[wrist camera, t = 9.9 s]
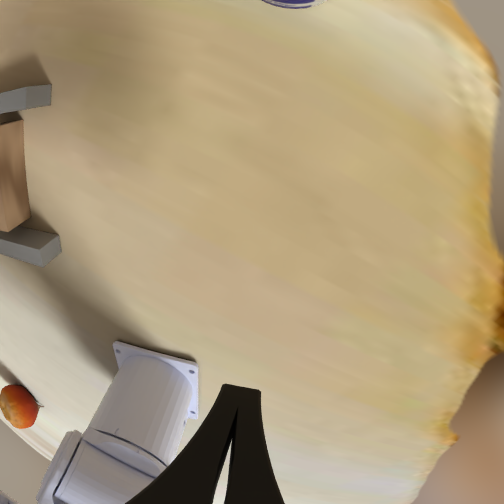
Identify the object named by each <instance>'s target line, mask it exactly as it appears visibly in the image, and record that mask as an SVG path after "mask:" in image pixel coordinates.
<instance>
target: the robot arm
mask: <svg viewBox="0 0 504 504" xmlns="http://www.w3.org/2000/svg"><path fill="white" fill-rule="evenodd" d="M113 349H114V353H115V357H116V361H117V364H118V368H119V370H118V372H117V374H116V376H115V378H114V379H113V381H112V383H111V385H110V387H109V388H108V390H107V392H106V394H105V396H104V398H103V399H102V401H101V403H100V405H99V407H98V409H97V411H96V412H95V414H94V416H93V418H92V420H91V422H90V424H89V426H88V428H87V429H86V430H85V432H84V433H83V434H82V433H80V432H79V431H77V430H74V431H70V432H67V433H66V435H65V437H64V438H63V440H62V442H61V444H60V446H59V448H58V450H57V452H56V454H55V455H54V457H53V459H52V461H51V463H50V465H49V467H48V469H47V471H46V473H45V475H44V477H43V480H42V481H41V484H42V485H41V487H40V489H39V492H38V494H37V496H36V500H37V501H38V503H37V504H212V503H213V499H214V494H215V490H216V487H217V483H218V480H219V477H220V474H221V471H222V468H223V465H224V462H225V459H226V456H227V452H228V449H229V446H230V443H231V440H232V444H231V454H230V464H229V474H228V484H227V491H226V496H225V501H224V504H285V503H284V501H283V498H282V496H281V493H280V490H279V488H278V485H277V482H276V479H275V476H274V473H273V469H272V466H271V462H270V458H269V454H268V450H267V445H266V440H265V435H264V429H263V422H262V413H261V391H259V390H257V389H251V388H246V387H240V386H235V385H230V384H223V385H222V387H221V390H220V392H219V395H218V397H217V399H216V401H215V403H214V405H213V407H212V408H211V410H210V412H209V414H208V415H207V417H206V418H205V420H204V421H203V423H202V424H201V426H200V427H199V429H198V430H197V432H196V433H195V435H194V436H193V437H192V438H191V440H190V441H189V442H188V444H187V445H186V446H185V448H184V449H183V450H182V451H181V452H180V454H179V455H178V456H177V457H176V458H175V456H176V453H177V450H178V447H179V444H180V441H181V438H182V434H183V431H184V428H185V425H186V422H187V419H188V418H191V419H197V418H198V364H197V363H195V362H193V361H189V360H185V359H180V358H176V357H172V356H169V355H165V354H161V353H157V352H153V351H150V350H146V349H143V348H139V347H136V346H132V345H129V344H126V343H122V342H119V341H115V342H114V343H113ZM81 434H82V435H81ZM0 504H19V503H18V502H17V501H15V500H14V499H12V498H11V497H10V496H8V495H7V494H5V493H4V492H2V491H1V490H0Z"/></svg>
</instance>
